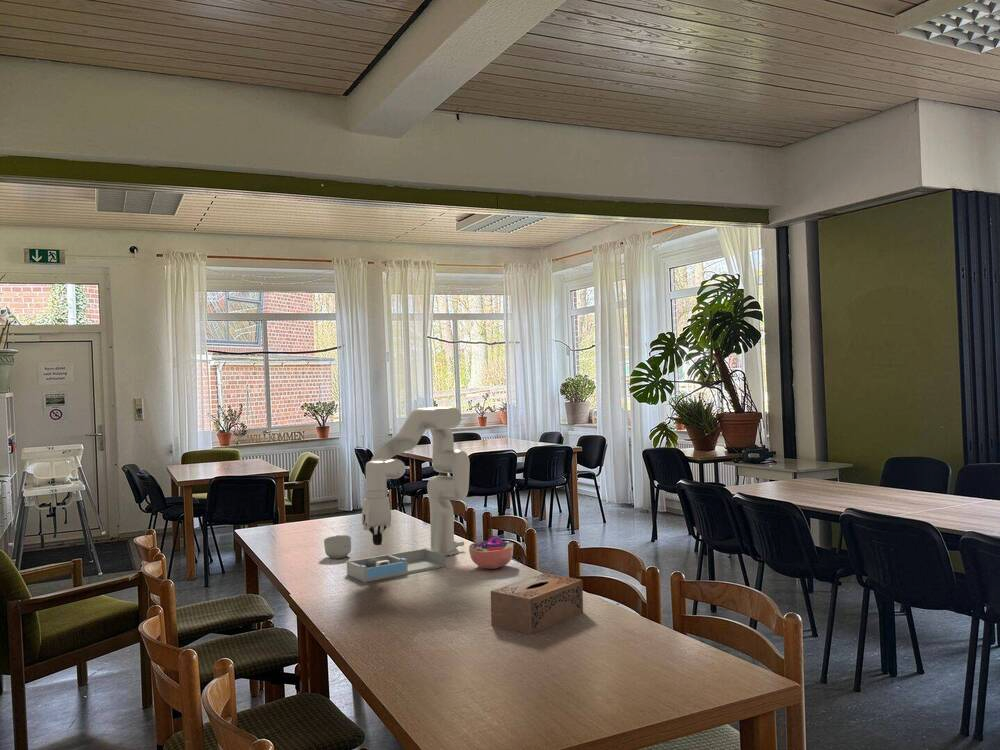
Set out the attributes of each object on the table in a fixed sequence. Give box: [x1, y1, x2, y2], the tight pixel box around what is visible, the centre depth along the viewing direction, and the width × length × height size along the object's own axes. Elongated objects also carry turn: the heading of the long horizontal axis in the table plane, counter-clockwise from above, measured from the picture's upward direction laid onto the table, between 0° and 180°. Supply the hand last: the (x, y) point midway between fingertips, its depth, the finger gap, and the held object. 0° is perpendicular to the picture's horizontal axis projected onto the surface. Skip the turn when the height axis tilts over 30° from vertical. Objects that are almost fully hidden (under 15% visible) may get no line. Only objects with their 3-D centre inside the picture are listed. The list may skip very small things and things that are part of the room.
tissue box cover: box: [490, 572, 584, 635], centre depth 236 cm, size 26×14×10 cm, turn 140°
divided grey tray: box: [346, 547, 446, 583], centre depth 298 cm, size 34×14×5 cm, turn 126°
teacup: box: [323, 534, 352, 560], centre depth 325 cm, size 14×11×8 cm
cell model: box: [468, 535, 514, 570], centre depth 300 cm, size 17×20×11 cm
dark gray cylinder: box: [366, 558, 389, 568], centre depth 293 cm, size 10×4×4 cm, turn 36°
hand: (377, 544), depth 293 cm, fingers closed
